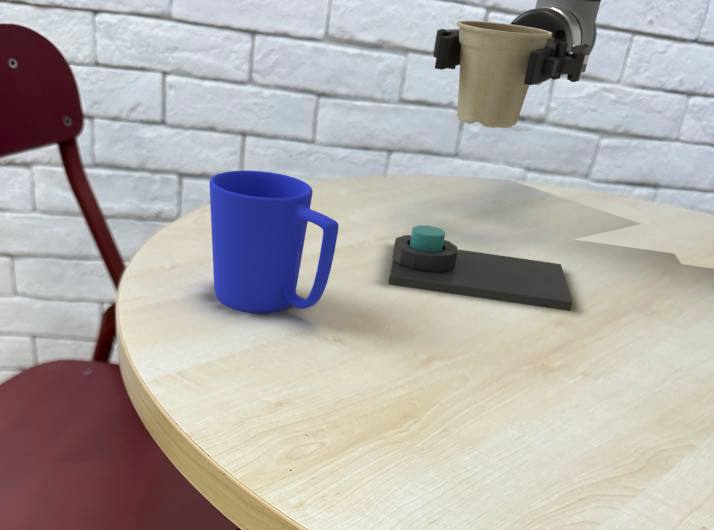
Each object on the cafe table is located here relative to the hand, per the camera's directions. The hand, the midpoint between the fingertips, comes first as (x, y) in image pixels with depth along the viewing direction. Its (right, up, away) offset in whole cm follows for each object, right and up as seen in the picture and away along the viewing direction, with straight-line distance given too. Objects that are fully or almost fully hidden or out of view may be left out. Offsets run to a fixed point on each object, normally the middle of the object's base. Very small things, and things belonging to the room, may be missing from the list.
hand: (485, 60), depth 82 cm
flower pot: (+1, -3, +7) cm, 8 cm away
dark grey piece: (-1, -21, +2) cm, 21 cm away
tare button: (-6, -18, +1) cm, 19 cm away
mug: (-20, -27, -9) cm, 35 cm away
